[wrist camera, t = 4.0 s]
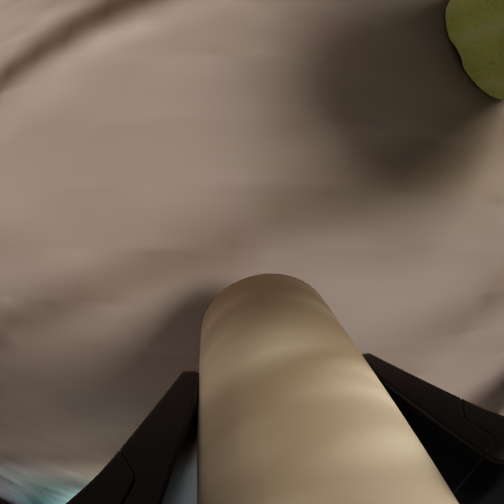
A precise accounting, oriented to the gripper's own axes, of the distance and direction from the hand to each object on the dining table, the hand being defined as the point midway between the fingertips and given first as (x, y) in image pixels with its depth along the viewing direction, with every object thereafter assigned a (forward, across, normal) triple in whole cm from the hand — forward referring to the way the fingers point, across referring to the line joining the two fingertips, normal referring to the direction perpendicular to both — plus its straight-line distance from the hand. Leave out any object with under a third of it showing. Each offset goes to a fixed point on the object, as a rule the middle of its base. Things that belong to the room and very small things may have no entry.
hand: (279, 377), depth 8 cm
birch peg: (+2, 0, 0) cm, 2 cm away
